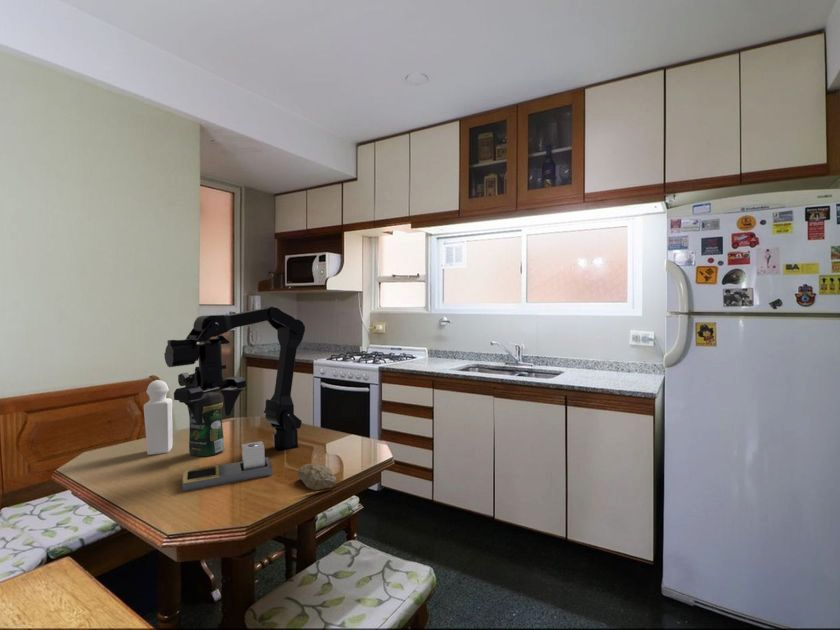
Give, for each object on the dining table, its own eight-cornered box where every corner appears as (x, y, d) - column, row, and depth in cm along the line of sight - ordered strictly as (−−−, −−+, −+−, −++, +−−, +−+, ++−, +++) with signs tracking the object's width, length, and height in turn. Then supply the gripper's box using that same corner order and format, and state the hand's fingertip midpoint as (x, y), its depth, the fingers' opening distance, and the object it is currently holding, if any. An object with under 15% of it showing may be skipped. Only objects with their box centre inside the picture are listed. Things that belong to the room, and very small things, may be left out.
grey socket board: (268, 465, 118) (267, 456, 118) (272, 476, 110) (272, 466, 110) (184, 480, 110) (184, 470, 109) (182, 493, 101) (182, 482, 101)
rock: (312, 496, 98) (311, 477, 98) (293, 481, 107) (292, 464, 107) (343, 487, 103) (342, 468, 103) (322, 473, 112) (321, 456, 112)
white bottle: (174, 446, 139) (171, 377, 138) (169, 453, 132) (166, 380, 132) (151, 449, 136) (148, 379, 136) (145, 456, 130) (142, 382, 130)
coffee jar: (184, 455, 129) (181, 393, 129) (206, 447, 137) (204, 388, 136) (207, 459, 125) (204, 395, 125) (229, 450, 133) (227, 389, 132)
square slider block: (263, 467, 116) (262, 441, 116) (265, 473, 111) (264, 446, 111) (242, 470, 114) (241, 444, 114) (244, 477, 109) (243, 449, 109)
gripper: (217, 357, 128) (220, 409, 129) (157, 366, 111) (160, 427, 112) (246, 357, 124) (249, 412, 124) (187, 367, 107) (191, 430, 107)
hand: (213, 420), depth 117 cm, fingers open, 9 cm apart
